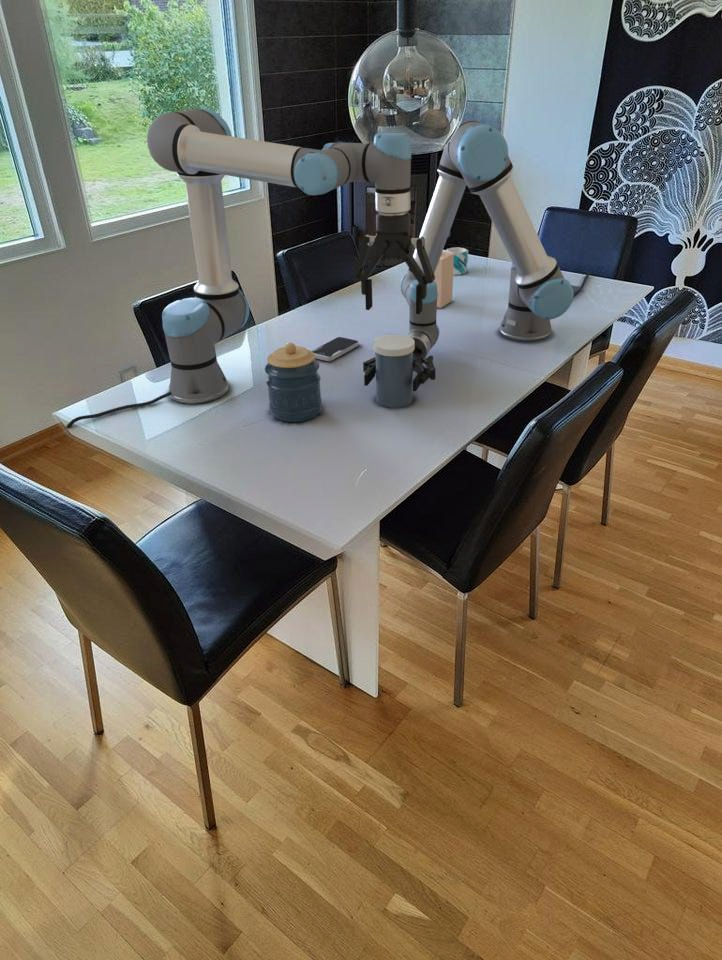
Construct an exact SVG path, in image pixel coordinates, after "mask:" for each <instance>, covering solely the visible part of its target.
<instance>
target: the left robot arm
mask: <svg viewBox="0 0 722 960" xmlns="http://www.w3.org/2000/svg"><path fill="white" fill-rule="evenodd" d="M146 144H147V149H148V152H149V154H150V156H151V158H152V159H153V161H154V162H155V163H156V164H157V165H158V166H160V167H161V168H163V169H164V170H167V171H169V172H174V173H176V175H177V176H178V178H180V179H181V180H182V181H183V182H184V185H185V192H186V199H187V207H188V214H189V221H190V229H191V234H192V244H193V250H194V257H195V264H196V271H197V278H198V281H197V283H196V284H195V285H194V286H193V294H194V297H186V298H185V297H184V298H182V299H178V300H175V301H173V302H171V303H169V304H168V305H167V306H166V307H164V309H163V311H162V313H161V318H162V319H161V320H162V330H163V331H164V332H163V333H164V337H165V343H166V345H167V346H166V347H167V352H168V357H169V361H170V367H171V369H170V370H171V371H170V377H169V386H168V392H166V393H164V394H162V395H159V396H158V397H155V398H154V399H152V400H148V401H145V402H139V403H132V404H125V405H122V406H118V407H114V408H111V409H107V410H105V411H101V412H98V413H94V414H93V413H92V414H87V415H80V416H77V417H75V418H73V419H71V420H70V421H69V422H68V423H67V425H66V426H65V429H70V428H71V427H72V426H73V425H74V424H75V423H77V422H79V421H82V420H87V419H95V418H100V417H103V416H106V415H109V414H112V413H115V412H119V411H122V410H127V409H133V408H140V407H146V406H151V405H153V404H155V403H157V402H159V401H161V400H163V399H165V398H168V397H170V398H171V400H173V401H175V402H177V403H180V404H188V405H189V404H190V405H196V404H197V405H198V404H204V403H208V402H212V401H214V400H217V399H219V398H221V397H223V396H224V395H225V394H227V392H228V391H229V383H228V379H227V378H226V375H225V374H224V372H223V370H222V368H221V366H220V363H219V362H218V358H217V353H216V346H215V345H216V344H218V343H220V342H221V341H223V340H224V339H226V338H227V337H229V336H231V335H234V334H236V333H237V332H239V330H241V329H242V328H243V327H244V326H245V325H246V323H247V321H248V319H249V316H250V305H249V301H248V298H247V296H244V293H243V292H242V290H241V289H240V285H239V284H238V282H236V280H234V279H233V275H232V267H231V266H232V265H231V257H230V247H229V239H228V231H227V230H228V229H227V219H226V212H225V203H224V193H223V184H222V180H223V179H224V178H225V176H229V177H235V178H241V179H245V180H252V181H256V182H257V181H258V182H264V183H268V184H269V183H270V184H275V185H281V186H287V187H292V188H298V189H300V190H301V191H302V192H303V193H305V194H306V195H309V196H318V195H321V196H322V195H325V194H328V193H329V192H330V191H332V190H336V189H337V188H340V187H342V186H345V185H347V184H350V183H374V189H375V190H374V191H375V193H374V194H375V195H374V196H375V211H376V212H377V213H376V215H375V232H376V233H375V235H371V234H370V233H367V234H366V235H364V236H363V237H362V240H361V241H362V243H361V244H362V245H361V246H362V247H361V250H360V252H359V256H358V259H357V262H356V265H355V266H354V267H355V268H354V270H353V274H352V277H353V278H354V279H357V280H359V281H360V288H361V295H363V296H364V297H365V299H364V300H365V310H366V311H370V310H371V308H373V279H371V278H370V277H371V275H372V273H373V272H374V271H375V269H376V267H377V265H378V264H379V263H380V261H381V259H382V258H383V257H386V258H390V257H393V258H401V259H402V260H403V261H404V263H405V264H406V265H407V267H408V269H409V268H410V270H411V271H412V273H413V275H414V276H415V278H416V279H417V281H418V282H419V284H418V285H417V286H416V314H420V313H421V311H422V299H425V298H426V296H427V284H429V283H432V282H433V281H434V280H435V275H434V273H433V270H432V267H431V264H430V261H429V258H428V255H427V253H426V250H425V239H424V237H420V238H419V237H412V235H411V213H410V210H411V174H412V173H411V170H412V169H411V167H412V154H411V152H412V151H411V138H410V135H409V134H408V133H407V132H404V133H382V132H377V133H376V134H375V135H374V137H373V142H369V143H365V142H344V141H337V142H328V143H325V144H324V145H323V148H322V149H315V148H310V147H309V148H308V147H302V146H295V145H289V144H283V143H277V142H276V143H275V142H270V141H263V140H257V139H251V138H243V137H238V136H233V135H232V131H231V129H230V127H229V124H228V122H227V121H226V120H225V119H224V118H223V117H222V116H221V115H220V114H219V113H217V111H215V110H213V109H209V108H190V109H185V110H179V111H173V112H166V113H163V114H160V115H158V116H157V117H155V119H153V121H152V122H151V123H150V125H149V127H148V129H147V134H146ZM374 244H375V245H376V246H377V248H378V250H377V252H376V253H375V254H374V257H373V258H372V260H371V261H370V263H369V264H368V266H367V268H366V269H365V270H363V269H364V267H365V264H366V262H367V258H368V256H369V253H370V250H371V246H373V245H374ZM411 245H413V248H414V249H415V248H416V249H417V254H418V256H419V259H420V262H421V265H422V268H423V270H424V273H425V275H424V273H423V272H422V270H421V269H420V267H419V265H418V264H417V262H416V261H415V259H414V258H413V253H412V251H411V250H410V246H411Z"/></svg>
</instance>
